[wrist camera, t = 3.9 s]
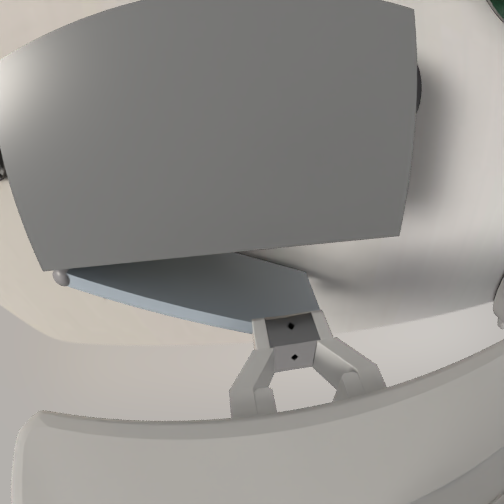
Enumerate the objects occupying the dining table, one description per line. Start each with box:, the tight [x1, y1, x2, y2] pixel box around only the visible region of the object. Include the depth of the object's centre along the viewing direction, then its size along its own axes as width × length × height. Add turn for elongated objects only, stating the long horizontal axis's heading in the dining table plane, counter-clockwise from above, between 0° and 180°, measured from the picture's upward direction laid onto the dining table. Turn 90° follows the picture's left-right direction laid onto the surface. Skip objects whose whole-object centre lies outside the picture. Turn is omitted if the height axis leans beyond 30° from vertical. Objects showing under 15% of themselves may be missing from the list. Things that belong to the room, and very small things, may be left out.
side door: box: [53, 252, 320, 334], centre depth 16 cm, size 15×2×6 cm, turn 68°
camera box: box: [0, 0, 421, 271], centre depth 12 cm, size 17×10×7 cm, turn 93°
